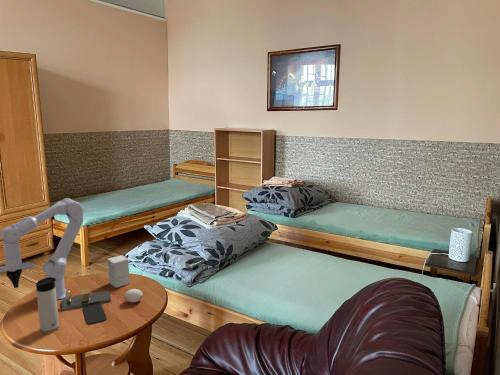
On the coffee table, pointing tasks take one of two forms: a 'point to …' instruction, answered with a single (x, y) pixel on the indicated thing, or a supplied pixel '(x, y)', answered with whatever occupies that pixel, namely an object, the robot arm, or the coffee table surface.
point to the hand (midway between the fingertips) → (16, 286)
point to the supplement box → (118, 271)
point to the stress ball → (133, 295)
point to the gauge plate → (77, 301)
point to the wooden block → (85, 294)
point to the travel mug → (47, 305)
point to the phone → (94, 314)
